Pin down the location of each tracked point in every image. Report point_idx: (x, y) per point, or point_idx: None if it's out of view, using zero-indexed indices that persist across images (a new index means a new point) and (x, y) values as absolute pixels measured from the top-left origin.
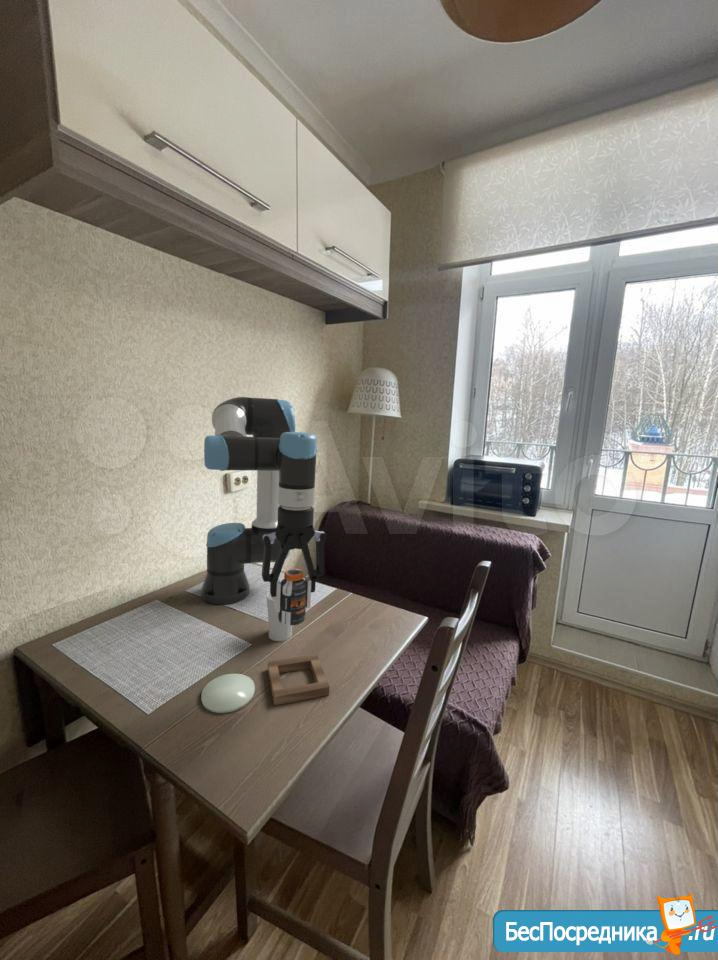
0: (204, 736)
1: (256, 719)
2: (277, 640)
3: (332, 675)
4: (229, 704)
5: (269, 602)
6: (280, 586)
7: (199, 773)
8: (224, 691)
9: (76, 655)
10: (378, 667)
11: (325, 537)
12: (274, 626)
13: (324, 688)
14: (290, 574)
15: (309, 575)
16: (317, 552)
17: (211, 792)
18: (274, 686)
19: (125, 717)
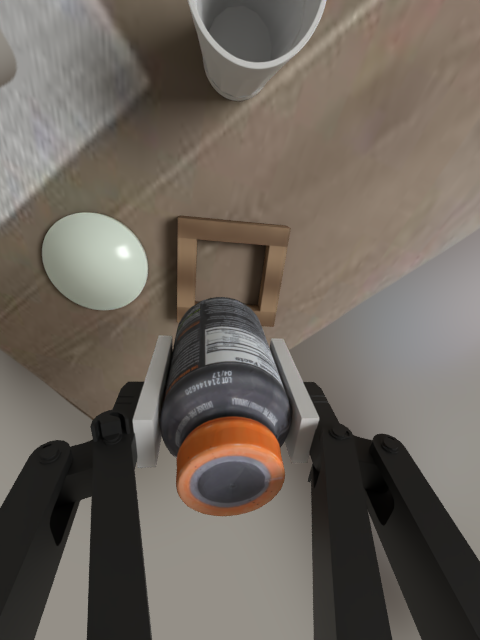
0: (70, 340)
1: (148, 332)
2: (222, 95)
3: (297, 277)
4: (100, 300)
5: (192, 17)
6: (157, 453)
7: (74, 388)
8: (88, 265)
9: None
10: (384, 283)
11: None
12: (214, 74)
13: (264, 325)
14: (204, 505)
15: (317, 445)
16: (443, 631)
17: (93, 410)
18: (180, 297)
19: None
